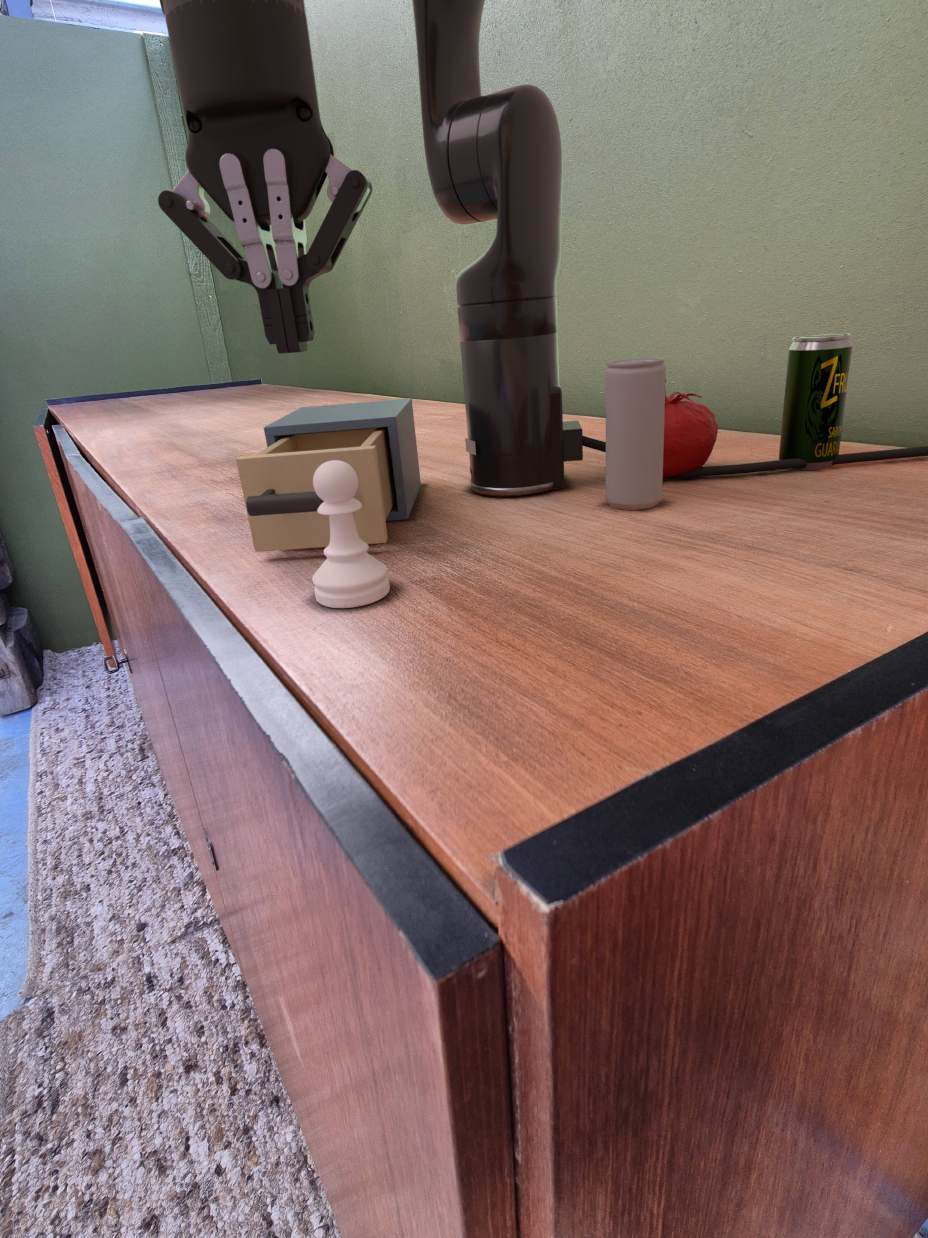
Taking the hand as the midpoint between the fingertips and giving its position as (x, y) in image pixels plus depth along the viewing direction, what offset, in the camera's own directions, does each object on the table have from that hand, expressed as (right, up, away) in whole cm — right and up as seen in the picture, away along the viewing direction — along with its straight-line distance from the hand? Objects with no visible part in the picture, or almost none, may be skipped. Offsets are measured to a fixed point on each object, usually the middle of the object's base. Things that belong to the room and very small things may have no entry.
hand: (292, 351), depth 46 cm
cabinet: (0, -6, +25) cm, 26 cm away
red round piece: (+31, -2, +27) cm, 41 cm away
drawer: (0, -10, +13) cm, 17 cm away
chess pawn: (+4, -16, +2) cm, 16 cm away
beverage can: (+26, -7, +17) cm, 32 cm away
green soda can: (+45, -2, +25) cm, 52 cm away
